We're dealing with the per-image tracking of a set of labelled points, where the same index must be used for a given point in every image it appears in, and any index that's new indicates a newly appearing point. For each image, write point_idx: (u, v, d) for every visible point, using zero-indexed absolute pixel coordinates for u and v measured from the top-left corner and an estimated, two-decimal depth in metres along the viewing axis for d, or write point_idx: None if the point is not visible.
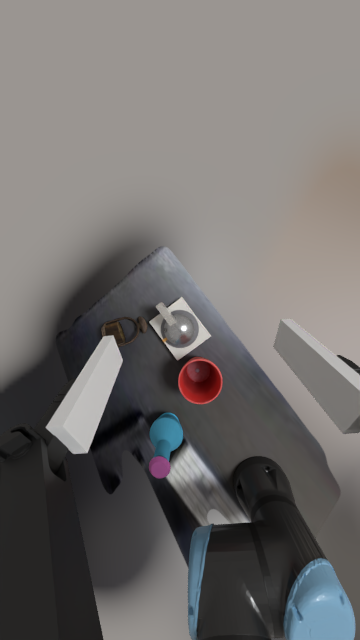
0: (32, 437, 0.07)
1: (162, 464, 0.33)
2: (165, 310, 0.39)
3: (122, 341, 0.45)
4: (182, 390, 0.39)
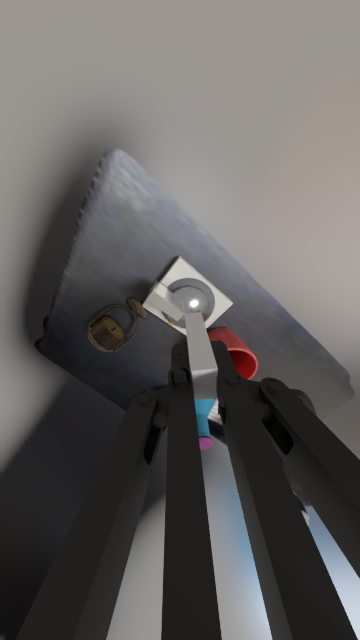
0: (187, 380, 0.08)
1: (205, 443, 0.35)
2: (163, 301, 0.24)
3: (123, 340, 0.33)
4: None
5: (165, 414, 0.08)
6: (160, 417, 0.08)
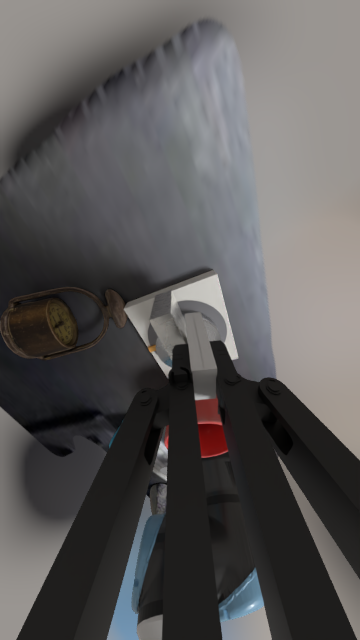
0: (187, 379, 0.08)
1: None
2: (176, 336, 0.13)
3: (69, 348, 0.20)
4: None
5: (166, 414, 0.08)
6: (160, 416, 0.08)
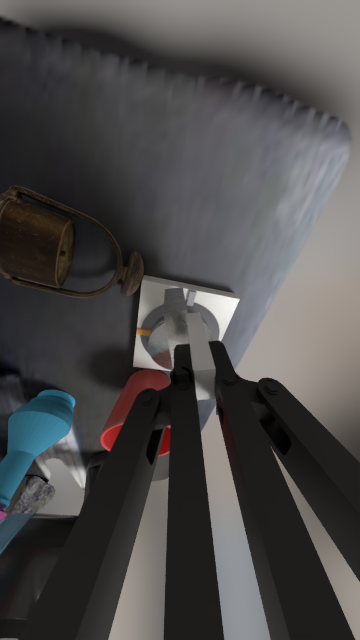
0: (189, 379, 0.08)
1: None
2: (184, 334, 0.13)
3: (55, 285, 0.15)
4: (105, 433, 0.21)
5: (168, 414, 0.08)
6: (162, 416, 0.08)
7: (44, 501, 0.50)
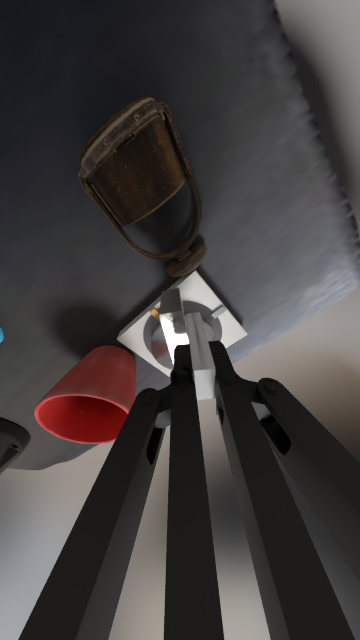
0: (189, 379, 0.08)
1: None
2: (182, 335, 0.13)
3: (123, 222, 0.13)
4: None
5: (168, 414, 0.08)
6: (162, 416, 0.08)
7: None
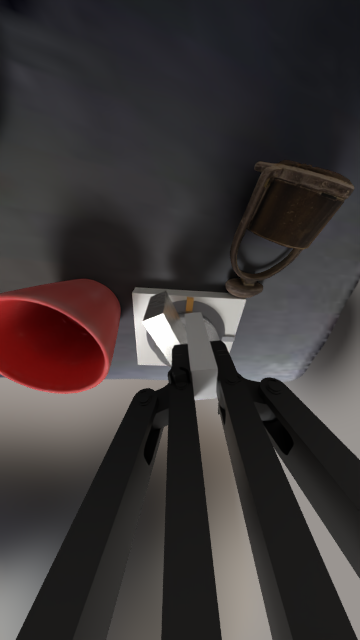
0: (187, 379, 0.08)
1: None
2: (170, 337, 0.13)
3: (255, 228, 0.14)
4: None
5: (165, 414, 0.08)
6: (160, 417, 0.08)
7: None
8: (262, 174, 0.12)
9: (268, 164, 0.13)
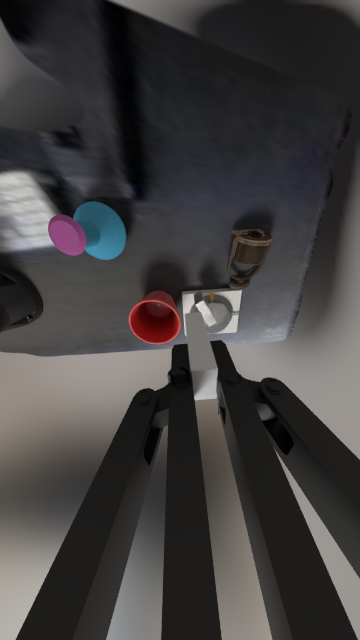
0: (187, 379, 0.08)
1: (73, 247, 0.21)
2: (206, 310, 0.32)
3: (236, 259, 0.31)
4: None
5: (165, 414, 0.08)
6: (160, 417, 0.08)
7: None
8: (233, 240, 0.30)
9: (236, 234, 0.30)
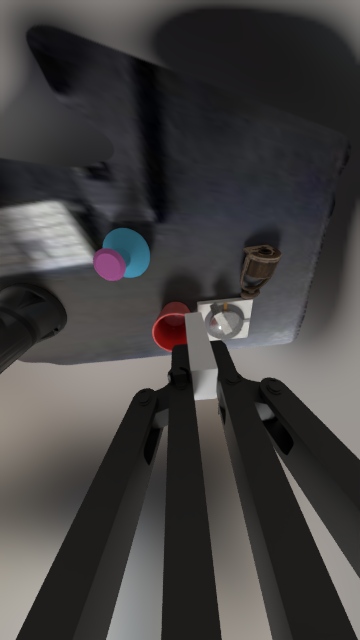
0: (187, 379, 0.08)
1: (114, 274, 0.24)
2: (224, 320, 0.35)
3: (248, 274, 0.35)
4: None
5: (165, 414, 0.08)
6: (160, 417, 0.08)
7: None
8: (246, 257, 0.33)
9: (247, 251, 0.33)
